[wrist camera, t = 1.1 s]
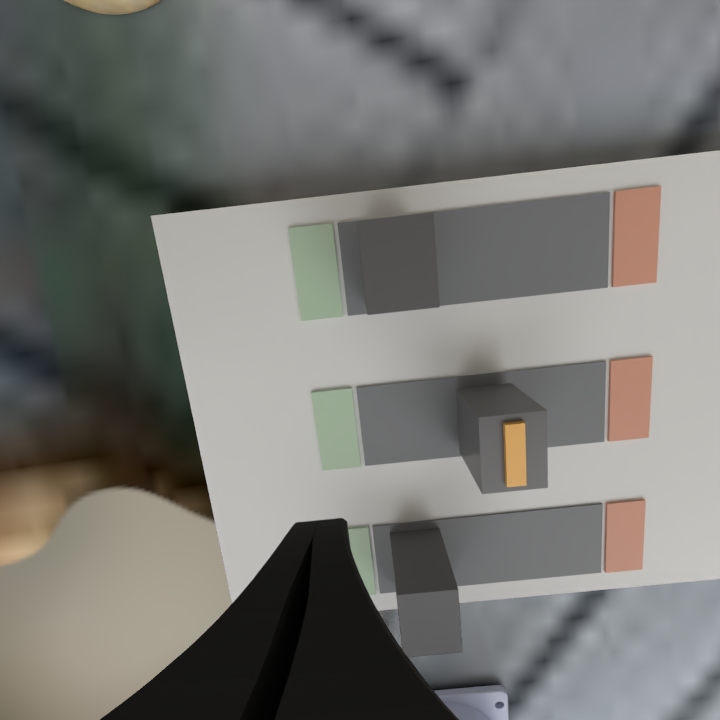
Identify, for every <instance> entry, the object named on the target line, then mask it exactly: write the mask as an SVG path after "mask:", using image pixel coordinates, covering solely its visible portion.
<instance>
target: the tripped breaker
mask: <svg viewBox="0 0 720 720" xmlns="http://www.w3.org/2000/svg"><path fill="white" fill-rule="evenodd" d="M456 401H457V418H458V435H459V451H460V454H461V456H462V458H463V460H464V462H465V463H466V465H467V467H468V469H469V471H470V473H471V474H472V476H473V478H474V480H475V482H476V484H477V486H478V487H479V489H480V491H481V493H482V494H490V493H500V492H510V491H520V490H530V489H540V488H548V448H547V410H546V409H545V408H543V407H542V406H541V405H539V404H538V403H537V402H535V401H534V400H533V399H532V398H530V397H529V396H528V395H526V394H525V393H524V392H522V391H521V390H520V389H518V388H517V387H516V386H515V385H513V384H512V383H506V384H496V385H487V386H477V387H468V388H458V389H456Z"/></svg>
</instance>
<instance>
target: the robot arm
mask: <svg viewBox="0 0 720 720" xmlns="http://www.w3.org/2000/svg"><path fill="white" fill-rule="evenodd" d="M100 720H509V718H508V696H507V693H506V690H505V688H504V687H503V686H501V685H491V686H480V687H468V688H457V689H446V690H435V691H433V689H432V688H431V687H430V686H429V685H428V683H427V682H426V681H425V680H424V678H423V677H422V676H421V674H420V673H419V672H418V670H417V669H416V668H415V666H414V665H413V664H412V662H411V661H410V660H409V658H408V657H407V656H406V654H405V653H404V652H403V650H402V649H401V647H400V646H399V644H398V643H397V641H396V640H395V638H394V637H393V635H392V634H391V632H390V631H389V629H388V627H387V626H386V624H385V622H384V621H383V619H382V617H381V616H380V614H379V612H378V610H377V608H376V607H375V605H374V603H373V601H372V599H371V597H370V595H369V593H368V591H367V589H366V587H365V585H364V582H363V580H362V578H361V576H360V573H359V571H358V568H357V565H356V563H355V560H354V558H353V555H352V551H351V547H350V540H349V532H348V524H347V521H346V520H344V519H343V518H336V519H326V520H316V521H306V522H296V523H295V524H294V525H293V526H292V527H291V529H290V530H289V531H288V533H287V534H286V536H285V537H284V538H283V540H282V541H281V543H280V544H279V545H278V547H277V548H276V550H275V551H274V552H273V554H272V555H271V556H270V558H269V559H268V560H267V562H266V563H265V564H264V565H263V567H262V568H261V569H260V571H259V572H258V573H257V574H256V576H255V577H254V578H253V580H252V581H251V582H250V583H249V584H248V586H247V587H246V588H245V589H244V590H243V591H242V593H241V594H240V595H239V596H238V597H237V598H236V600H235V601H234V602H233V603H232V604H231V605H230V607H229V608H228V609H227V610H226V611H225V612H224V613H223V614H222V615H221V616H220V618H219V619H218V620H217V621H216V622H215V623H214V624H213V625H212V626H211V627H210V628H209V629H208V630H207V631H206V632H205V633H204V634H203V635H202V636H201V637H200V638H199V639H197V640H196V641H195V642H194V643H193V644H192V645H191V646H190V647H189V648H188V649H187V650H186V651H184V653H182V654H181V655H180V656H179V657H177V658H176V659H175V660H174V661H173V662H172V663H171V664H169V665H168V666H167V667H166V668H165V669H164V670H162V671H161V672H160V673H159V674H158V675H157V676H155V677H154V678H153V679H152V680H151V681H150V682H149V683H147V684H146V685H145V686H143V687H142V688H141V689H140V690H138V691H137V692H136V693H135V694H133V695H132V696H131V697H129V698H128V699H127V700H126V701H124V702H123V703H122V704H121V705H119V706H118V707H116V708H115V709H114V710H112V711H111V712H110V713H108V714H107V715H106V716H104V717H103V718H101V719H100Z"/></svg>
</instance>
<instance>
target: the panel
mask: <svg viewBox="0 0 720 720" xmlns="http://www.w3.org/2000/svg"><path fill="white" fill-rule="evenodd" d="M151 219H152V224H153V229H154V234H155V238H156V243H157V248H158V253H159V258H160V262H161V267H162V272H163V277H164V281H165V286H166V291H167V296H168V300H169V305H170V310H171V315H172V320H173V324H174V329H175V334H176V339H177V343H178V348H179V353H180V358H181V362H182V367H183V372H184V377H185V382H186V386H187V391H188V396H189V401H190V405H191V410H192V415H193V420H194V424H195V429H196V434H197V439H198V444H199V448H200V453H201V458H202V463H203V467H204V472H205V477H206V482H207V486H208V491H209V496H210V501H211V505H212V510H213V515H214V520H215V525H216V529H217V534H218V539H219V544H220V548H221V553H222V558H223V563H224V567H225V572H226V577H227V582H228V587H229V591H230V596H231V601H232V603H233V602H234V601H235V600H236V598H237V597H238V596H239V595H240V594H241V593H242V591H243V590H244V589H245V588H246V587H247V586H248V584H249V583H250V582H251V581H252V580H253V578H254V577H255V576H256V574H257V573H258V572H259V571H260V569H261V568H262V567H263V565H264V564H265V563H266V562H267V560H268V559H269V558H270V556H271V555H272V554H273V552H274V551H275V550H276V548H277V547H278V545H279V544H280V543H281V541H282V540H283V538H284V537H285V536H286V534H287V533H288V531H289V530H290V529H291V527H292V526H293V525H294V524H295V523H296V522H306V521H316V520H326V519H336V518H343V519H344V520H346V521H347V524H348V532H349V540H350V547H351V551H352V555H353V558H354V560H355V563H356V565H357V568H358V571H359V573H360V576H361V578H362V580H363V582H364V585H365V587H366V589H367V591H368V593H369V595H370V597H371V599H372V601H373V603H374V605H375V607H376V608H377V610H378V611H381V610H392V609H398V615H399V623H400V632H401V641H402V650H403V652H404V653H405V654H406V656H407V657H416V656H427V655H438V654H449V653H460V652H462V637H461V622H460V607H459V603H466V602H477V601H488V600H498V599H509V598H520V597H530V596H541V595H552V594H562V593H573V592H584V591H594V590H605V589H616V588H626V587H637V586H648V585H658V584H669V583H680V582H690V581H701V580H712V579H720V150H718V151H709V152H700V153H692V154H683V155H674V156H666V157H657V158H648V159H640V160H631V161H622V162H614V163H605V164H596V165H588V166H579V167H570V168H562V169H553V170H544V171H536V172H527V173H518V174H510V175H501V176H492V177H484V178H475V179H466V180H458V181H449V182H440V183H432V184H423V185H414V186H406V187H397V188H388V189H379V190H371V191H362V192H353V193H345V194H336V195H327V196H319V197H310V198H301V199H293V200H284V201H275V202H267V203H258V204H249V205H241V206H232V207H223V208H215V209H206V210H197V211H189V212H180V213H171V214H163V215H154V216H151ZM506 383H512V384H513V385H515V386H516V387H517V388H518V389H520V390H521V391H522V392H524V393H525V394H526V395H528V396H529V397H530V398H532V399H533V400H534V401H535V402H537V403H538V404H539V405H541V406H542V407H543V408H545V409H546V410H547V448H548V488H540V489H530V490H520V491H510V492H500V493H490V494H482V493H481V491H480V489H479V487H478V486H477V484H476V482H475V480H474V478H473V476H472V474H471V473H470V471H469V469H468V467H467V465H466V463H465V462H464V460H463V458H462V456H461V454H460V451H459V435H458V418H457V401H456V389H458V388H468V387H477V386H487V385H496V384H506Z"/></svg>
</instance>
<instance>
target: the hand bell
mask: <svg viewBox="0 0 720 720" xmlns="http://www.w3.org/2000/svg"><path fill="white" fill-rule="evenodd" d="M64 1H66V2H68V3H70V4H72V5H74V6H77V7H80V8H82V9H85V10H88V11H91V12H95V13H101V14H115V15H121V14H131V13H134V12H138V11H141V10H144V9H147V8H149V7H152V6H153V5H155V4H157V3H158V2H160V1H161V0H64Z"/></svg>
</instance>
